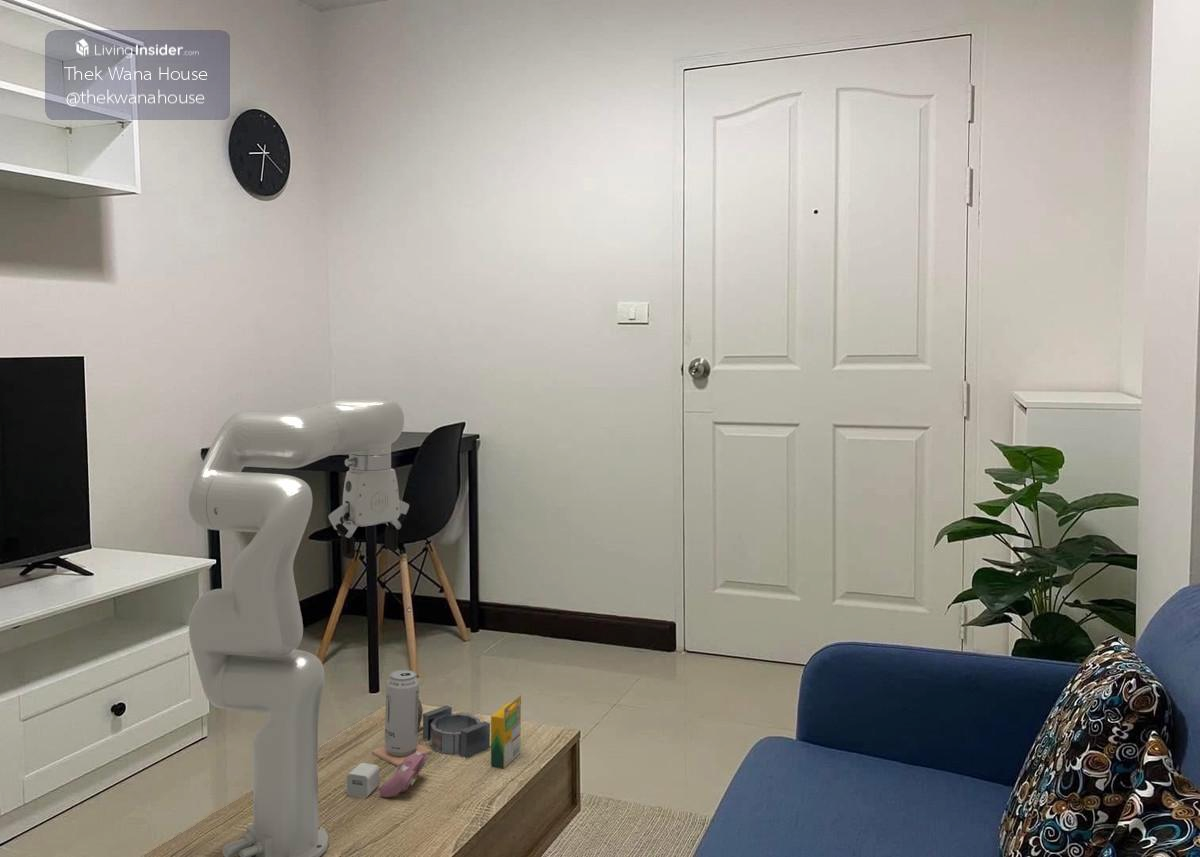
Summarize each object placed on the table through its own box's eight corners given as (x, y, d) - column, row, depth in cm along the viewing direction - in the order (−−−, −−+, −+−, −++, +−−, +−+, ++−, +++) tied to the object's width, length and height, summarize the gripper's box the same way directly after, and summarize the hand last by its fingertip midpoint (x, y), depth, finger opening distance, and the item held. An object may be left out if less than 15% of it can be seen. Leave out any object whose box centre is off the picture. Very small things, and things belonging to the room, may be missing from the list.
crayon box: (506, 750, 184) (508, 692, 183) (521, 753, 183) (522, 694, 182) (489, 766, 177) (490, 706, 176) (504, 769, 176) (505, 708, 175)
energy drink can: (382, 746, 183) (384, 670, 182) (413, 742, 185) (416, 667, 184) (387, 759, 177) (389, 681, 176) (419, 755, 180) (421, 678, 178)
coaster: (397, 766, 176) (397, 764, 176) (371, 753, 181) (371, 750, 181) (431, 752, 182) (431, 750, 182) (405, 740, 187) (405, 738, 187)
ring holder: (496, 745, 186) (496, 720, 186) (458, 761, 179) (459, 735, 178) (453, 726, 194) (453, 702, 194) (415, 740, 187) (415, 716, 186)
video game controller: (398, 809, 164) (415, 776, 162) (375, 795, 164) (393, 762, 163) (419, 782, 173) (436, 751, 172) (398, 769, 174) (414, 738, 173)
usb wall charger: (346, 795, 165) (346, 773, 165) (365, 777, 172) (365, 756, 171) (368, 798, 164) (368, 776, 164) (385, 780, 171) (385, 758, 170)
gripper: (342, 469, 168) (342, 564, 170) (420, 461, 181) (419, 549, 183) (318, 464, 173) (318, 557, 175) (395, 456, 186) (395, 542, 188)
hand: (370, 553), depth 179 cm, fingers open, 9 cm apart
